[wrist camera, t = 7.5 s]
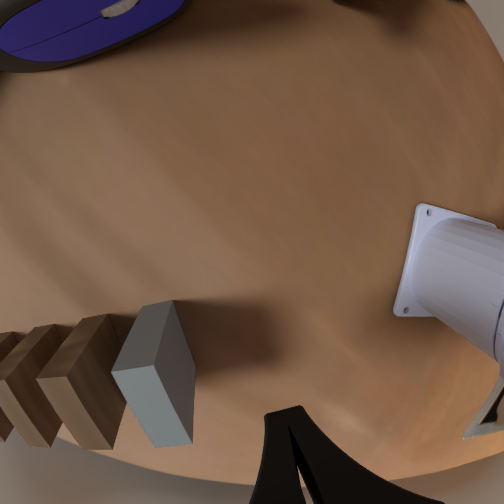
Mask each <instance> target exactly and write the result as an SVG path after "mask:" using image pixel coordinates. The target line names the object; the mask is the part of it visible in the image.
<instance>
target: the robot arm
mask: <svg viewBox="0 0 504 504" xmlns="http://www.w3.org/2000/svg"><path fill="white" fill-rule="evenodd" d="M427 210H429V213H428V215H427ZM404 308H406V310H405V311H404ZM393 313H394V314H395V315H396V316H405V317H436V318H438V319H439V320H441V321H442V322H443V323H445V324H446V325H448V326H449V327H450V328H452V329H453V330H455V331H456V332H457V333H459V334H460V335H462V336H463V337H464V338H466V339H467V340H469V341H470V342H471V343H473V344H474V345H475V346H477V347H478V348H479V349H481V350H482V351H484V352H485V353H486V354H488V355H489V356H490V357H492V358H493V359H494V360H496V361H497V362H499V364H500V372H499V376H501V377H502V378H503V379H504V230H501V229H497V228H496V225H495V224H492V223H489V222H486V221H483V220H480V219H476V218H473V217H470V216H467V215H463V214H460V213H457V212H453V211H450V210H446V209H443V208H439V207H436V206H432V205H428V204H424V203H420V204H418V205H417V207H416V212H415V217H414V223H413V228H412V233H411V238H410V243H409V247H408V252H407V256H406V261H405V265H404V269H403V273H402V277H401V281H400V285H399V289H398V293H397V296H396V300H395V303H394V307H393ZM264 421H265V436H264V446H263V453H262V460H261V465H260V469H259V473H258V477H257V481H256V485H255V488H254V491H253V494H252V497H251V500H250V503H249V504H306V501H305V498H304V495H303V492H302V489H301V484H300V479H299V473H298V468H299V471H300V473H301V475H302V478H303V480H304V482H305V485H306V487H307V489H308V491H309V494H310V496H311V498H312V500H313V503H314V504H445V503H444V502H441V501H437V500H434V499H430V498H427V497H424V496H421V495H418V494H415V493H413V492H410V491H408V490H405V489H403V488H401V487H399V486H397V485H395V484H393V483H390V482H388V481H386V480H385V479H383V478H381V477H379V476H377V475H376V474H374V473H372V472H371V471H369V470H368V469H366V468H365V467H363V466H362V465H360V464H359V463H357V462H356V461H355V460H353V459H352V458H351V457H349V456H348V455H347V454H346V453H345V452H343V451H342V450H341V449H340V448H339V447H338V446H336V445H335V444H334V443H333V442H332V441H331V440H330V439H329V438H328V437H327V436H326V435H325V434H324V433H323V432H322V431H321V430H320V429H319V427H318V426H317V425H316V424H315V423H314V422H313V420H312V419H311V418H310V417H309V415H308V414H307V412H306V411H305V410H304V408H303V406H300V405H298V406H295V407H291V408H287V409H283V410H280V411H276V412H271V413H267V414H266V415H265V416H264ZM297 466H298V468H297Z"/></svg>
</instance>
